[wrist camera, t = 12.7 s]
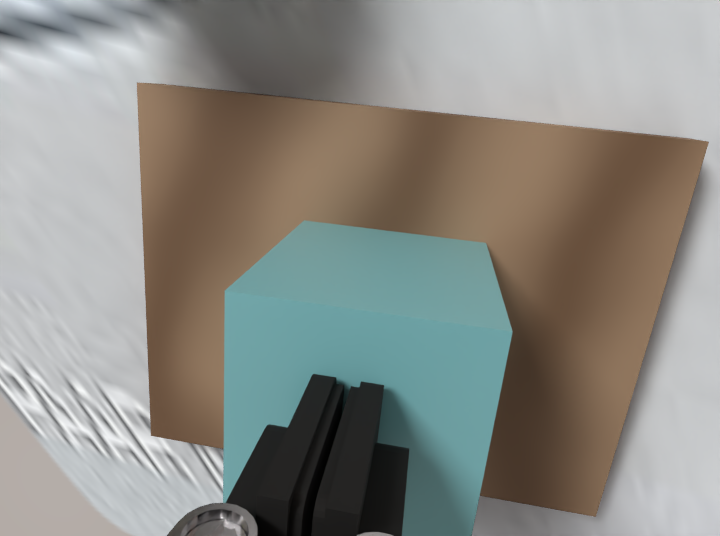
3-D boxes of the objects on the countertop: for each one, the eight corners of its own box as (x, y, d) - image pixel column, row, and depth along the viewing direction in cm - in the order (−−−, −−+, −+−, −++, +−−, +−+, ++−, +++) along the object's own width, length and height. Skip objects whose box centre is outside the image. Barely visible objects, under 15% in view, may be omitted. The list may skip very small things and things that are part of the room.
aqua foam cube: (486, 242, 17) (512, 331, 11) (458, 403, 19) (466, 561, 13) (304, 220, 18) (224, 290, 11) (295, 378, 20) (223, 515, 13)
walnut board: (686, 137, 17) (708, 141, 15) (585, 489, 21) (595, 516, 20) (159, 83, 19) (136, 82, 17) (168, 415, 23) (151, 435, 22)
